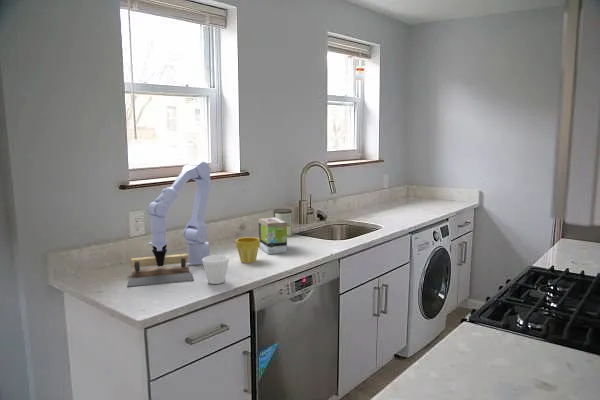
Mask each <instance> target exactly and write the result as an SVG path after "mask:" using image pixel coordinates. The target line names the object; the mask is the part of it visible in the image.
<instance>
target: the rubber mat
mask: <svg viewBox="0 0 600 400" xmlns="http://www.w3.org/2000/svg"><path fill="white" fill-rule="evenodd" d="M183 282H184V283H185V282H194V274H193V273H192V272H189V273H178V274H168V275H157V276H146V277H135V278H128V279H127V285H126V287H127V288H132V287H143V286H153V285H154V286H155V285H163V284H164V285H165V284H173V283H183Z"/></svg>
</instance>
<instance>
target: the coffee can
mask: <svg viewBox="0 0 600 400" xmlns="http://www.w3.org/2000/svg"><path fill="white" fill-rule="evenodd" d="M272 212H273V215H272V216H273V218H279V219H281V220H283V221H285V222H287V238H289V237H291V236H293V215H292V213H293V210H292V209H291V208H276V209H273V211H272Z"/></svg>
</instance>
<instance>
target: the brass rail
mask: <svg viewBox="0 0 600 400" xmlns="http://www.w3.org/2000/svg"><path fill="white" fill-rule="evenodd" d="M183 258H185V262H186V264H187V263H188V253H180V254H179V253H177V254H169V255H168V254H167V255H166V254H165V257H164V265H175V264H176V265H177V264H178V265H179V264H181V259H183ZM130 259H131V261H130V262H131V265H130V266H131V268H135V265H134V263H136V262H139V267H140V268H143V267H154V266H157V262H156V258H155V255H154V256H153V255H152V256H143V257H142V256H141V257H139V258H138V257H131V258H130ZM164 265H163V266H164Z"/></svg>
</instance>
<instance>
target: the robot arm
mask: <svg viewBox="0 0 600 400" xmlns="http://www.w3.org/2000/svg"><path fill="white" fill-rule="evenodd" d="M211 170H212V168H211V167H210V164H209V163H208V162H206V161H192V160H191V161H188V162H187V163H185V165H184V166H183V167H182V170H181V172H180V173H179V174H178V176H177V178H176V179H175V180H174V182H172V184H171V186H170V187H169V186H168V187H165V188H163V189H162V191H161V193H160V195H159V196H158V197H156V198H155V200H154V201H153V202H150V203H149V204H148V207H147V209H146V212H147V214H148V215H149V219H150V231H151V233H150V234H151V241H150V242H148V245H149V246H151V247H152V249H151V252H152V253H153V255H154V256H155V258H156V262H157V265H156V266H157V268H158V267H164V257H165V255H166V254H167V251H168V248H167V245H168V240H167V225H166V224H167V223H166V215H167V214H168V212H169V208H170V206H171V205H172V204H173V202H174V201H175V200H176V199H177V198H178V192H179V191H180V190H181V189H182V188H183V187H184V186H185V184H186V183H187V182H189V180H191V179H193V181H195V183H196V185H197V186H196V192H195V197H194V201H193V207H192V213H191V219H190V220H189V221H188V222H187V223H186V225H185V228H184V229H183V233H182V236H183V239H184V240H186V244H187V245H186V246H187V247H186V248H187V251H186V252H187V254H188V263H186V265H188V266H197V265H203V263H202V259H203V258H204V257H207V256H211V254H210V244H209V243H210V242H209V241H207V239H208V226H207V224H206V223H205V217H206V212H207V207H208V206H207V205H208V201H209V196H210V195H209V194H210V189H211V183H212V181H211V180H212V179H211Z"/></svg>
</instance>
